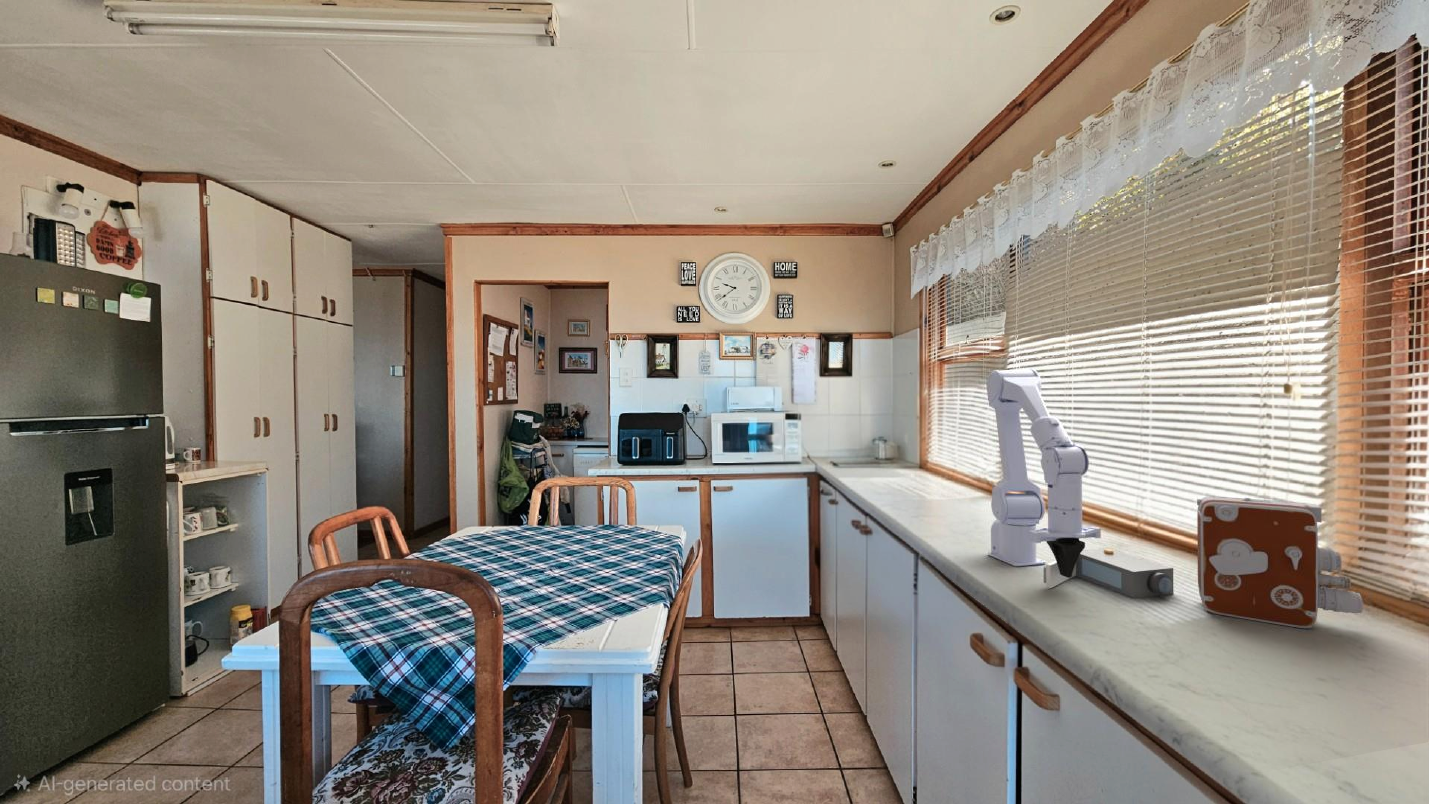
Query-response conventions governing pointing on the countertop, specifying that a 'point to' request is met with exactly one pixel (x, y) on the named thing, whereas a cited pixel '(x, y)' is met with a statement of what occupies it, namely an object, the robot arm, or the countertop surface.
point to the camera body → (1125, 573)
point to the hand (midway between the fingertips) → (1065, 576)
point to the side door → (1054, 574)
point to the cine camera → (1267, 562)
